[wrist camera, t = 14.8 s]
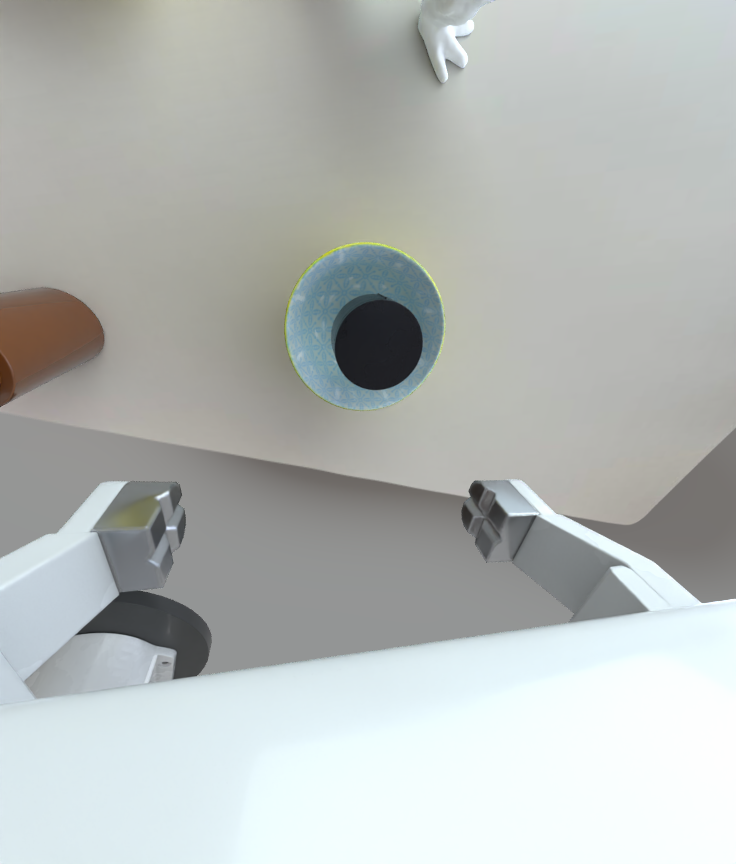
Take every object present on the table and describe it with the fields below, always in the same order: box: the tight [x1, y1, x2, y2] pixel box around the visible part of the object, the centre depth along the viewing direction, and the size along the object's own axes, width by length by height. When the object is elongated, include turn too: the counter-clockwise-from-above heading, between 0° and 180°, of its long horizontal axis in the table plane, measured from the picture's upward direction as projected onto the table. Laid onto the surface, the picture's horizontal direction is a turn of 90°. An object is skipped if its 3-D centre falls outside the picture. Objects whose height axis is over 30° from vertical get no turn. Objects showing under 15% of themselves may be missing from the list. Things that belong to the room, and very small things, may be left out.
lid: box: [331, 293, 423, 390], centre depth 20 cm, size 6×6×3 cm
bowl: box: [284, 242, 445, 411], centre depth 24 cm, size 11×12×6 cm
